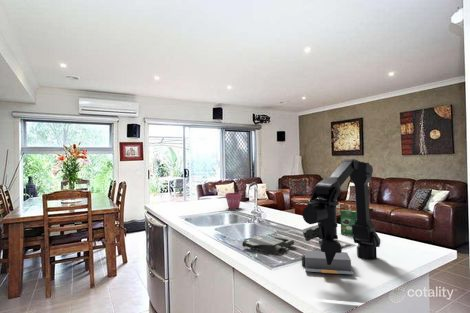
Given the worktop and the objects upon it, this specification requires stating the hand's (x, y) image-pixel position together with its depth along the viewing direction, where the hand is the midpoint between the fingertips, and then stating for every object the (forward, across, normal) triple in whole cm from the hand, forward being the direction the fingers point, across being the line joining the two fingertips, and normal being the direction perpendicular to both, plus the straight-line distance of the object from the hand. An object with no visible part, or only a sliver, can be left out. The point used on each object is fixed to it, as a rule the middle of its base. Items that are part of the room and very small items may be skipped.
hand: (328, 264), depth 92 cm
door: (+4, -5, 0) cm, 7 cm away
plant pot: (+6, -129, -66) cm, 145 cm away
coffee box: (+5, -58, +16) cm, 61 cm away
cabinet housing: (+5, -10, 0) cm, 11 cm away
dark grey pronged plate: (+6, -29, -23) cm, 37 cm away
